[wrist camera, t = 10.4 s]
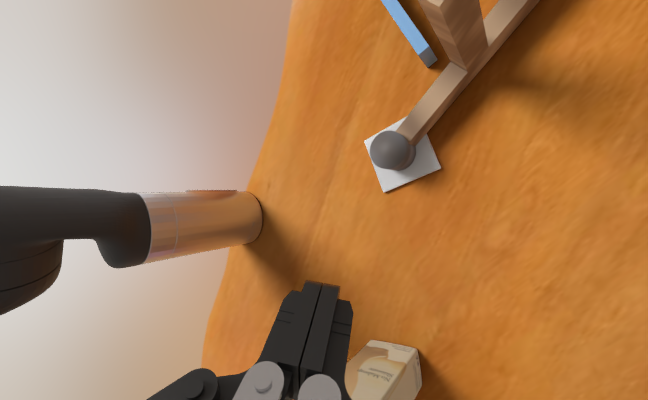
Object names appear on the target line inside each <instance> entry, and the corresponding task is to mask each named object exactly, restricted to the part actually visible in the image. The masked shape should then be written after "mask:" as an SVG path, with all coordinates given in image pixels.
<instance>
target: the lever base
mask: <svg viewBox="0 0 648 400" xmlns="http://www.w3.org/2000/svg"><path fill="white" fill-rule="evenodd" d="M405 119H406V117H405V118H403V119H401V120H400V121H398V122H396V123H394V124H393V125H391V126H389V127H388V128H386V129H384V130H382V131H381V132H384V131H396V130H397V129H398V127H399V126H400V125H401V124H402V122H403V121H404V120H405ZM381 132H379V133H377V134H375V135H374V136H372V137H370V138H368V139H367V140H365V141H364V142H365V145H366V147H367V150H368V153H369V155H370V146H371V143H372V141H373V140H374V138H375V137H376V136H377V135H378V134H380V133H381ZM415 147H416V156H415V159H414V161H413V163H412V164H411V165H410V166H409V167H408V168H406V169H404V170H400V171H396V170H389V169H383V168H380V167H378V166H376V165H375V164H374V163H373V161H372V159H371V161H372V163H373V166H374V169H375V171H376V174H377V177H378V179H379V182H380V185H381V187H382V190H383V193H385V192H387V191H390V190H392V189H394V188H397V187H399V186H401V185H404V184H406V183H408V182H411V181H413V180H416V179H418V178H420V177H423V176H425V175H427V174H430V173H432V172H434V171H437V170H439V169H441V166H440V163H439V161H438V159H437V156H436V154H435V152H434V149H433V147H432V145H431V142H430V140H429V138H428V135H427V133H426V135H425V136H424V137H423V138H422V139H421V140H420V142H419V143H418V144H417V145H416V146H415ZM370 158H371V157H370Z"/></svg>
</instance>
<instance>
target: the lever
mask: <svg viewBox="0 0 648 400" xmlns="http://www.w3.org/2000/svg"><path fill="white" fill-rule="evenodd" d="M539 1H540V0H499V1H498V2H497V4H496V5H495V6H494V8H493V9H492V10H491V11H490V13H489V14H488V15H487V16H486V18H485V19H484V20H483V18H482V13H481V8H480V3H479V0H418V2H419V4H420V5H421V7H422V9H423V11H424V13H425V15H426V17H427V19H428V20H429V22H430V24H431V26H432V28H433V30H434V32H435V34H436V35H437V37H438V39H439V41H440V43H441V45H442V47H443V48H444V50H445V52H446V54H447V56H448V58H449V60H450V63H449V64H448V66H447V67H446V68H445V69H444V71H443V72H442V73H441V74H440V76H439V77H438V78H437V79H436V81H435V82H434V83H433V84H432V86H431V87H430V88H429V90H428V91H427V92H426V93H425V95H424V96H423V97H422V98H421V100H420V101H419V102H418V103H417V105H416V106H415V107H414V108H413V110H412V111H411V112H410V114H409V115H408V116H407V117H406V119H405V120H404V121H403V122H402V124H401V125H400V126H399V127H398V129H397V130H396V131H384V132H381V133H380V134H378V135H377V136H376V137H375V138H374V140H373V141H372V143H371V146H370V157H371V159H372V161H373V163H374V164H375V165H376V166H378V167H380V168H383V169H389V170H396V171H400V170H404V169H406V168H408V167H409V166H410V165H411V164H412V163H413V161H414V159H415V156H416V147H415V146H416V145H417V144H418V143H419V142H420V140H421V139H422V138H423V137H424V136H425V135H426V133H427V132H428V131H429V130H430V129H431V128H432V126H433V125H434V124H435V123H436V122H437V120H438V119H439V118H440V117H441V116H442V115H443V113H444V112H445V111H446V110H447V109H448V108H449V106H450V105H451V104H452V103H453V102H454V101H455V99H456V98H457V97H458V96H459V95H460V94H461V92H462V91H463V90H464V89H465V88H466V87H467V85H468V84H469V83H470V82H471V81H472V79H473V78H474V77H475V76H476V75H477V74H478V72H479V71H480V70H481V69H482V68H483V67H484V65H485V64H486V63H487V62H488V61H489V60H490V58H491V57H492V56H493V55H494V54H495V53H496V51H497V50H498V49H499V48H500V47H501V46H502V44H503V43H504V42H505V41H506V40H507V39H508V37H509V36H510V35H511V34H512V33H513V31H514V30H515V29H516V28H517V27H518V26H519V24H520V23H521V22H522V21H523V20H524V19H525V17H526V16H527V15H528V14H529V13H530V12H531V10H532V9H533V8H534V7H535V6H536V5H537V3H538V2H539Z"/></svg>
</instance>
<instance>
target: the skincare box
mask: <svg viewBox="0 0 648 400" xmlns="http://www.w3.org/2000/svg"><path fill="white" fill-rule="evenodd" d="M345 386H346V390H347V392H348V394H349V396H350V398H351V399H352V400H414V399H415V398H416V396H417V394H418V392H419V390H420V388H421V386H422V378H421V369H420V362H419V356H418V351H417V349H416V348H412V347H408V346H403V345H399V344H394V343H388V342H383V341H376V340H370V341H369V342H368V343H367V344H366V345H365V346H364V347H363V348H362V349H361V350H360V351H359V352H358V353H357V354H356V355H355V356H354V357H353V358H352V359H351V360H350V361H349V362H348V363H347V364H346V370H345Z"/></svg>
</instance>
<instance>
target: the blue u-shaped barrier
mask: <svg viewBox="0 0 648 400" xmlns="http://www.w3.org/2000/svg"><path fill="white" fill-rule="evenodd" d="M381 1H382V3H383V4H384V6H385V7H386V9H387V10H388V11H389V13H390V14H391V16H392V17H393V19H394V20H395V22H396V23H397V25H398V26H399V28H400V29H401V31H402V32H403V34H404V35H405V37H406V38H407V39H408V41H409V42H410V44H411V45H412V47H413V48H414V50H415V51H416V53H417V54H418V56H419V57H420V58H421V60H422V61H423V62H424V64H425V65H426V66H427V68H428V67H430V66H431V65H432V64H433V63H435V62H436V61H437V60H438V59H437V58H436V56H435V54H434V53H433V51H432V50H431V48H430V46H429V45H428V43H427V42H426V41H425V39H424V38H423V36H422V35H421V34H420V32H419V31H418V29H417V28H416V26H415V25H414V24H413V22H412V21H411V19H410V18H409V16H408V15H407V14H406V12H405V11H404V9H403V8H402V6H401V5H400V4H399V2H398V1H397V0H381Z"/></svg>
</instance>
